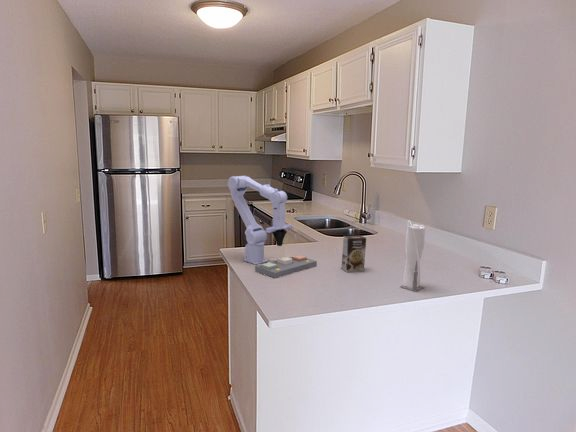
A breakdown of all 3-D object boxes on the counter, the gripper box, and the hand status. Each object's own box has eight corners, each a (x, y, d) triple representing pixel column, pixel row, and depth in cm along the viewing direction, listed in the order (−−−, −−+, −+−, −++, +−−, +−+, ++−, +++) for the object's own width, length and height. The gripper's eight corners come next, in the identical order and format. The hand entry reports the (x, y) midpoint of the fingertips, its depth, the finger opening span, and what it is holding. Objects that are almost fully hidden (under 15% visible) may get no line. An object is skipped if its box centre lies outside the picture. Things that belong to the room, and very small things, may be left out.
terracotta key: (291, 262, 197) (291, 256, 196) (298, 260, 200) (298, 254, 200) (299, 264, 193) (299, 258, 193) (306, 262, 197) (306, 256, 196)
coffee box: (346, 272, 185) (348, 238, 182) (341, 268, 191) (342, 235, 188) (364, 271, 188) (366, 237, 185) (358, 267, 194) (360, 234, 191)
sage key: (261, 270, 182) (261, 264, 182) (269, 268, 186) (269, 262, 185) (268, 273, 179) (269, 266, 178) (276, 271, 182) (277, 264, 182)
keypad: (255, 271, 183) (255, 265, 183) (296, 260, 203) (297, 255, 203) (275, 278, 174) (275, 272, 174) (316, 266, 194) (316, 260, 194)
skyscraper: (396, 286, 168) (401, 220, 164) (406, 282, 174) (411, 218, 169) (415, 291, 162) (421, 223, 158) (424, 287, 168) (430, 221, 163)
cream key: (277, 264, 189) (277, 258, 189) (284, 262, 193) (284, 256, 192) (284, 267, 186) (284, 260, 185) (292, 265, 189) (292, 258, 189)
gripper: (273, 219, 179) (273, 249, 181) (296, 216, 189) (296, 244, 191) (262, 218, 184) (263, 247, 186) (285, 214, 194) (286, 242, 196)
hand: (279, 245), depth 189 cm, fingers closed
